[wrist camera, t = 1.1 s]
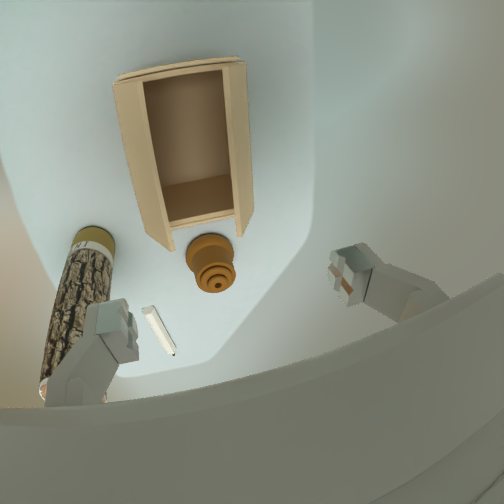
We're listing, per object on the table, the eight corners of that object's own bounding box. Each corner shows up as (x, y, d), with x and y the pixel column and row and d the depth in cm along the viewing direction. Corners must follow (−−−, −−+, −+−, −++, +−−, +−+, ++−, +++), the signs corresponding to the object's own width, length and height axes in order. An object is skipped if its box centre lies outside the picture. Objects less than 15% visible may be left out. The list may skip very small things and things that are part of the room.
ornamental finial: (235, 261, 50) (192, 275, 49) (226, 225, 45) (178, 239, 44) (248, 295, 44) (199, 310, 43) (239, 257, 39) (184, 274, 38)
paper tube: (123, 238, 41) (117, 395, 22) (103, 268, 43) (94, 418, 24) (84, 216, 37) (45, 372, 18) (67, 250, 39) (34, 400, 20)
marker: (173, 350, 61) (145, 303, 51) (181, 352, 60) (155, 305, 50) (168, 360, 59) (139, 314, 49) (177, 362, 59) (149, 316, 48)
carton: (124, 73, 28) (111, 77, 20) (224, 56, 30) (245, 55, 23) (148, 196, 39) (147, 236, 31) (234, 179, 41) (254, 214, 33)
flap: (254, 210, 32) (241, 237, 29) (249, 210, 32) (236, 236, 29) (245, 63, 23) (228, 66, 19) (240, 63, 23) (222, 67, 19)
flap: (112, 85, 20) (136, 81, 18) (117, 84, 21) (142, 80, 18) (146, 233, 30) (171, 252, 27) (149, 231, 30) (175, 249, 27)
